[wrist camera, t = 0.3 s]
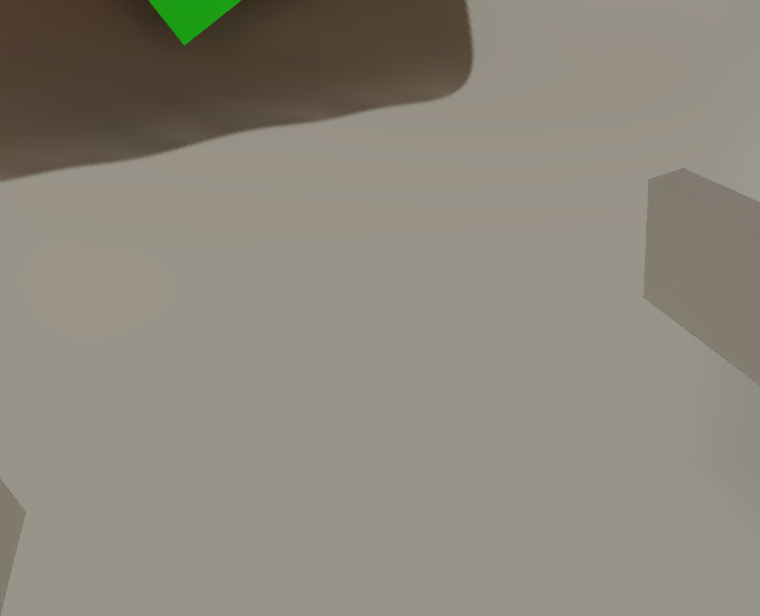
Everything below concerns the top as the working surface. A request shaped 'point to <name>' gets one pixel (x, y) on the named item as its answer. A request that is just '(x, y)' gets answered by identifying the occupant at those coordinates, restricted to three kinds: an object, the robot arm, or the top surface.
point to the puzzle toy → (191, 15)
